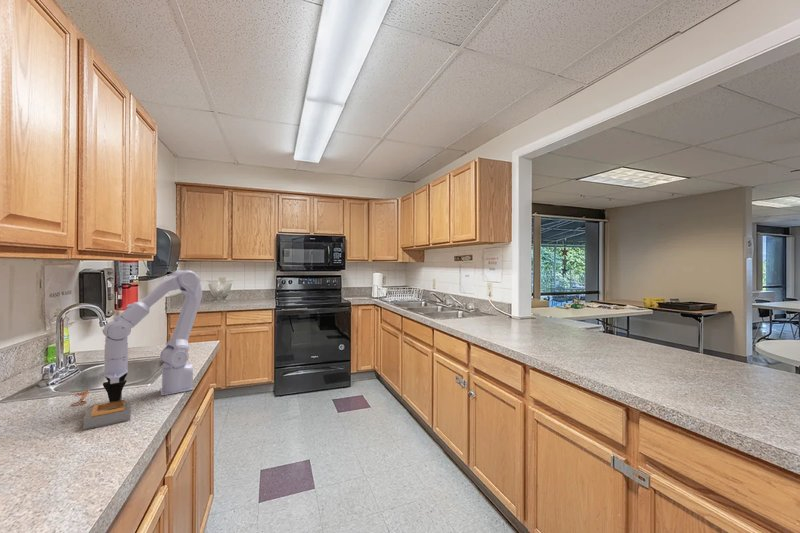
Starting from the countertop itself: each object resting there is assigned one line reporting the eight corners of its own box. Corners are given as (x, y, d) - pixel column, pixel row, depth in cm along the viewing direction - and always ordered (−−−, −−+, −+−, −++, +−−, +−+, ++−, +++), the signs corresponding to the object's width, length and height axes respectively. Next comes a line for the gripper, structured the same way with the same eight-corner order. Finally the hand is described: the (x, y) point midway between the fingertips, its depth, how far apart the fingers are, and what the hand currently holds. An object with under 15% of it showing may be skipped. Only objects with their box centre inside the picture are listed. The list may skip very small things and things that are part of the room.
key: (73, 395, 116) (60, 410, 104) (73, 392, 116) (60, 407, 104) (95, 390, 120) (85, 405, 107) (95, 388, 120) (85, 402, 107)
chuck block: (130, 410, 103) (131, 397, 103) (130, 420, 97) (130, 406, 97) (87, 419, 97) (87, 405, 97) (83, 430, 91) (83, 415, 91)
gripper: (101, 354, 110) (101, 395, 110) (97, 365, 99) (96, 410, 99) (129, 351, 115) (128, 390, 115) (127, 361, 103) (126, 404, 103)
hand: (115, 399), depth 107 cm, fingers open, 7 cm apart
